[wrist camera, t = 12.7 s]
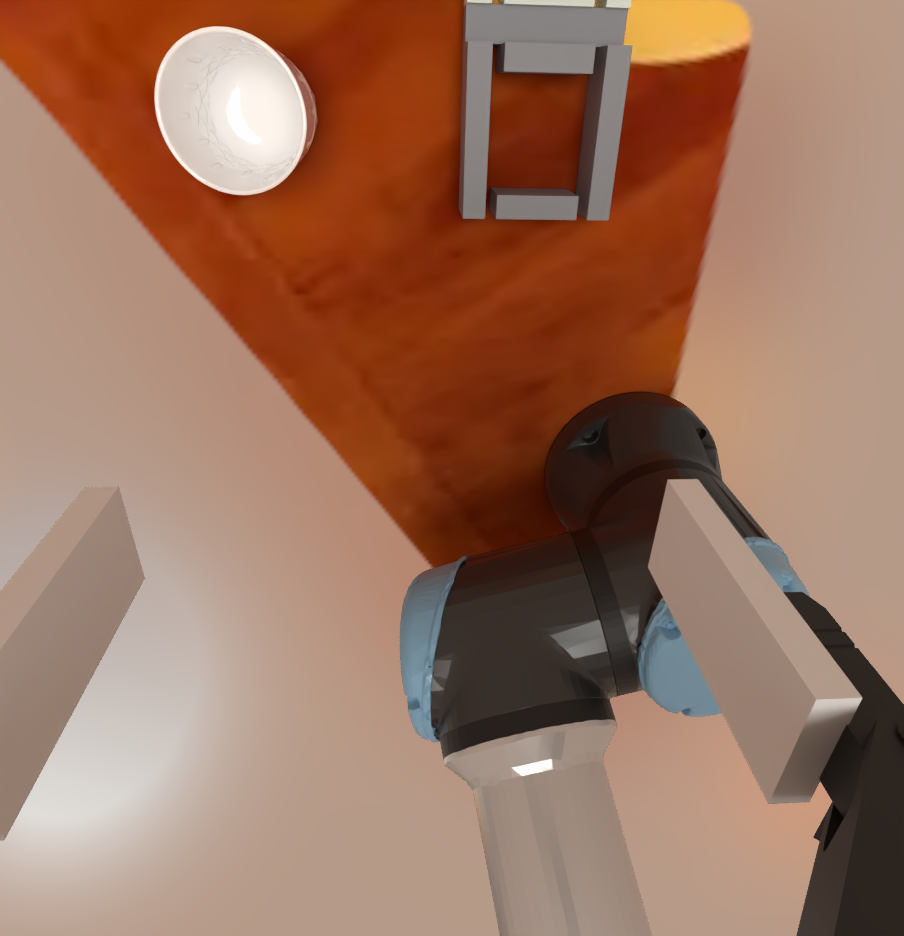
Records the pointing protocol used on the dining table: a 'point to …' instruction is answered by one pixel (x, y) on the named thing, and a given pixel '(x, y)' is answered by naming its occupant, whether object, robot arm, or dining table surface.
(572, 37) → the frame
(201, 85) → the white cup
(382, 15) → the dining table surface
